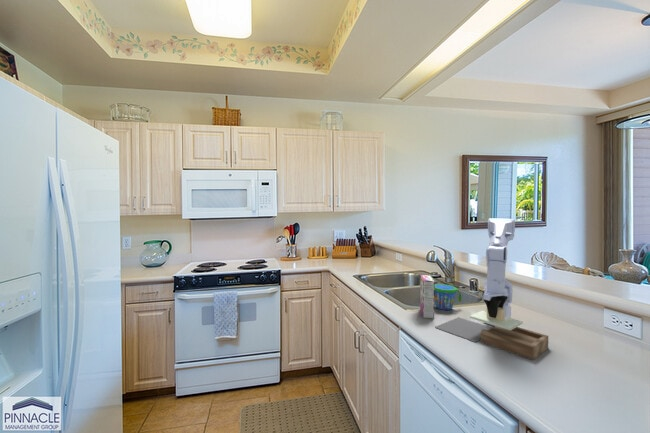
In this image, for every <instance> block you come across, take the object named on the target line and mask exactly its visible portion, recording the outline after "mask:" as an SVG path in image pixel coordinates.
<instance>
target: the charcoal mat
mask: <svg viewBox="0 0 650 433" xmlns="http://www.w3.org/2000/svg"><path fill="white" fill-rule="evenodd" d="M434 328H435V329H438V330H439V331H440V330H441V331H443V332H445V333H449V334H451V335H453V336H457V337H459V338H461V339H465V340H468V341H470V342H473V343H477V342H478V341H481V330H483V329H484V330H489V329H491V328H493V327H491V326H488V325H486V324H485V325H484V324H481V323H478V322H475V321H471V320H468V319H465V318H461V317H459V316H458V317H456V318H453V319H451V320H449V321H447V322H444V323H441V324H438V325H436V326H434Z"/></svg>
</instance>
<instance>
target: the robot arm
mask: <svg viewBox="0 0 650 433" xmlns="http://www.w3.org/2000/svg"><path fill="white" fill-rule="evenodd" d="M515 226H516V219H514V218H494V217H493V218H492V217H490V218H488V220H487V233H488V236H489V243H488V244H489V245H488V247H486V249H485V259H486V260H485V261H486V268H487V270H486V281H485V286H484V293H483V296H482V299H483V301H484V303H485V305H486V310H487V309H488V313H489V317H493V318H496V316H497V311H498V307H500V308H504V309H505V317H508V318H512V307H511V305H510V304H511V303H513V284H512V283H511V282H510V281H509V280H507V279H506V268H507V267H506V265H507V264H506V263H507V262H508V247H507V246H508V243H509V242H510V241H513V240H514V238H515V230H516V227H515ZM483 323H484V324H488V323H485V322H483ZM488 325H490V326H493V327H495V326H494V325H491V324H488Z"/></svg>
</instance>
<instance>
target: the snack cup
mask: <svg viewBox="0 0 650 433" xmlns="http://www.w3.org/2000/svg"><path fill="white" fill-rule="evenodd" d="M457 292H458V294H459V295H458V302H461V301H462V298H463V297H462V293H461V291H460V289H458V288H457V287H455V286H453V285H450V284H449V285H448V284H442V283H438V284H435V285H434V307H435V308H437V309H438V310H439V309H440V310H444V311H448V310H449V311H451V310H452V309H453V307H454V301H455V296H456V293H457Z"/></svg>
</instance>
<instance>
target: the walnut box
mask: <svg viewBox="0 0 650 433" xmlns="http://www.w3.org/2000/svg"><path fill="white" fill-rule="evenodd" d="M480 342H481V343H482V344H486V345H488V346H491V347H494V348H497V349H500V350H503V351H506V352H508V353H511V354H514V355H517V356H519V357H523V358H525V359H528V360H531V361H534V360H535V359H536V358H538V357H539V356H540V355H541V354H543V353H544V352H545V351H546V350H547V349H549V335H547V334H544V333H541V332H536V331H533V330H529V329H526V328H522V327H520V326H518V327H516V328H514V329H512V330H508V329H504V328H501V327H498V326H493V327H492V328H491V329H489V330H484V329H483V330H481V340H480Z"/></svg>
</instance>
